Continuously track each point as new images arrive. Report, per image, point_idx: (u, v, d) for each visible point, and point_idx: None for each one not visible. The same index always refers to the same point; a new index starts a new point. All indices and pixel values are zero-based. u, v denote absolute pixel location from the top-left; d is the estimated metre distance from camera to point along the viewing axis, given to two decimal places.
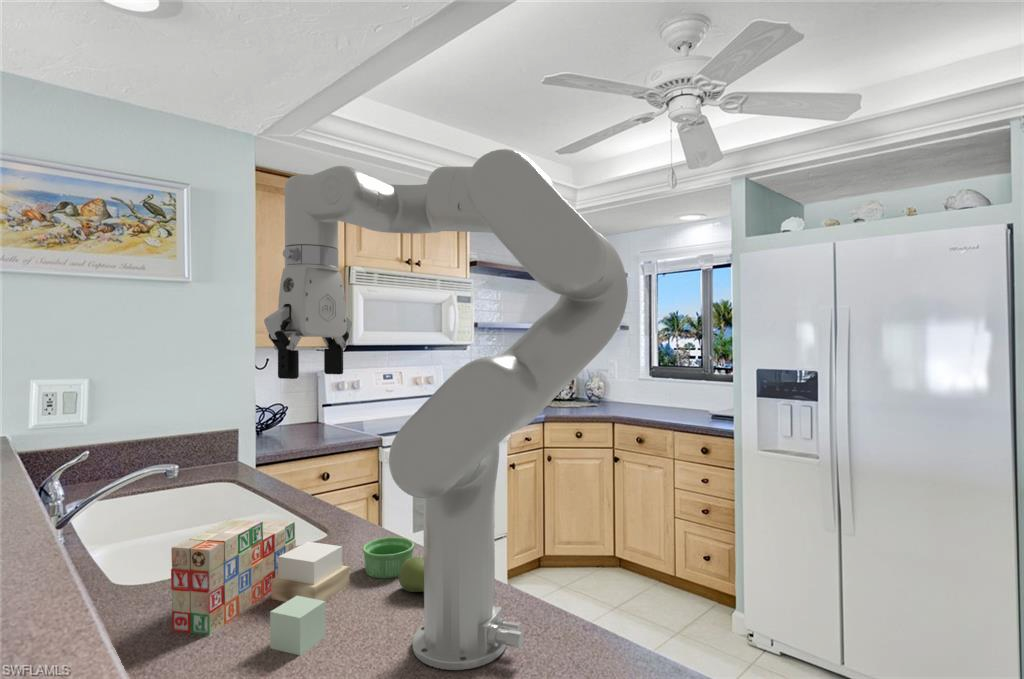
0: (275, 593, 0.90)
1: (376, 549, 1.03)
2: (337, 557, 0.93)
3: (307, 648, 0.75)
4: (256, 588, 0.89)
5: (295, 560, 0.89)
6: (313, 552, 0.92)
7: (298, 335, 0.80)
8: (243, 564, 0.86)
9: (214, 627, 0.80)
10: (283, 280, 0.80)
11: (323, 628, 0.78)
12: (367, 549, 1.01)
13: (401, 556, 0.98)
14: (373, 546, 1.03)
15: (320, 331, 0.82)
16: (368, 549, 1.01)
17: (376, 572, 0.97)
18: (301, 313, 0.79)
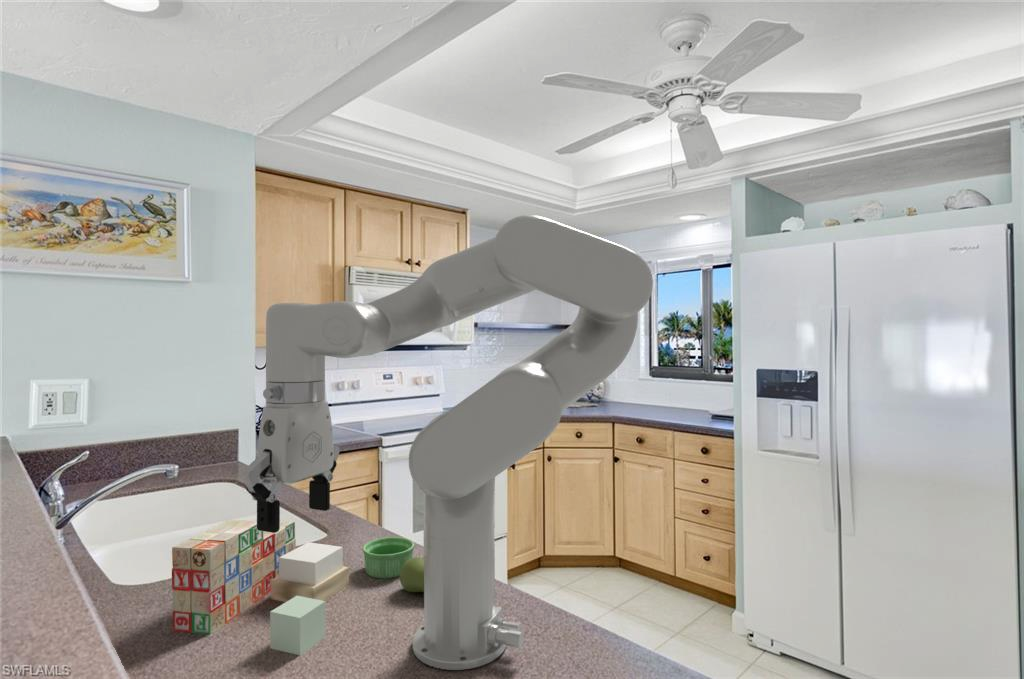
0: (275, 594, 0.90)
1: (376, 549, 1.03)
2: (338, 558, 0.93)
3: (307, 648, 0.75)
4: (256, 587, 0.89)
5: (296, 561, 0.89)
6: (314, 552, 0.92)
7: (279, 483, 0.72)
8: (244, 564, 0.86)
9: (215, 627, 0.80)
10: (264, 421, 0.73)
11: (323, 628, 0.78)
12: (367, 549, 1.01)
13: (401, 556, 0.98)
14: (374, 546, 1.03)
15: (303, 474, 0.74)
16: (368, 549, 1.01)
17: (376, 572, 0.97)
18: (283, 461, 0.71)
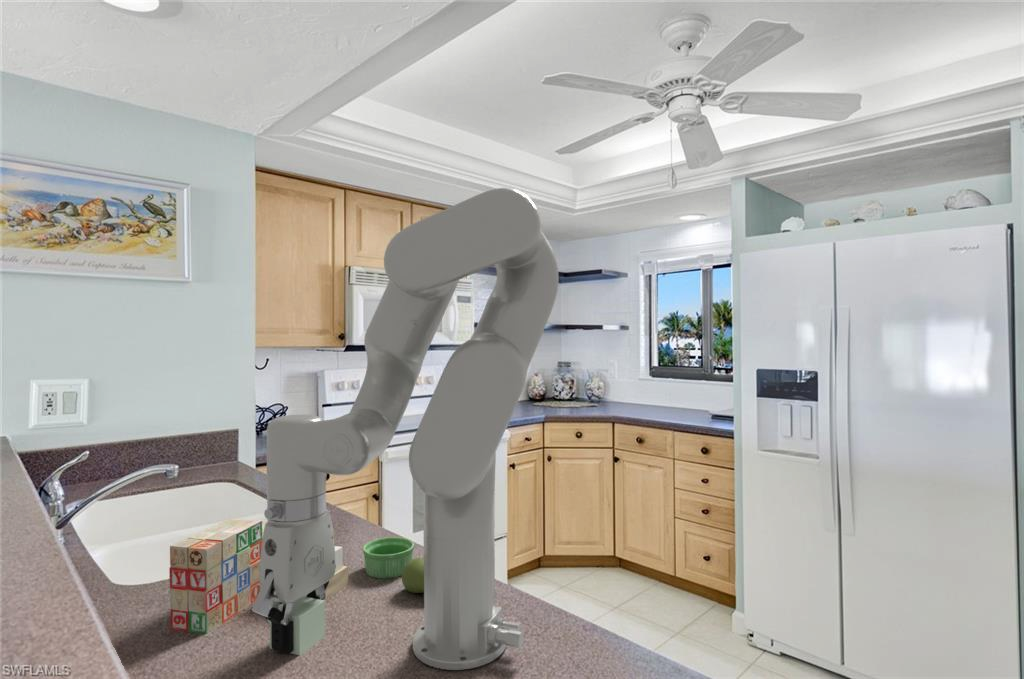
0: None
1: (376, 549, 1.03)
2: (338, 558, 0.93)
3: (306, 647, 0.75)
4: (255, 587, 0.89)
5: None
6: None
7: (289, 603, 0.74)
8: (242, 563, 0.86)
9: (211, 626, 0.80)
10: (265, 540, 0.73)
11: (322, 628, 0.78)
12: (367, 549, 1.01)
13: (401, 556, 0.98)
14: (373, 546, 1.03)
15: (306, 590, 0.74)
16: (368, 549, 1.01)
17: (376, 572, 0.97)
18: (285, 582, 0.72)
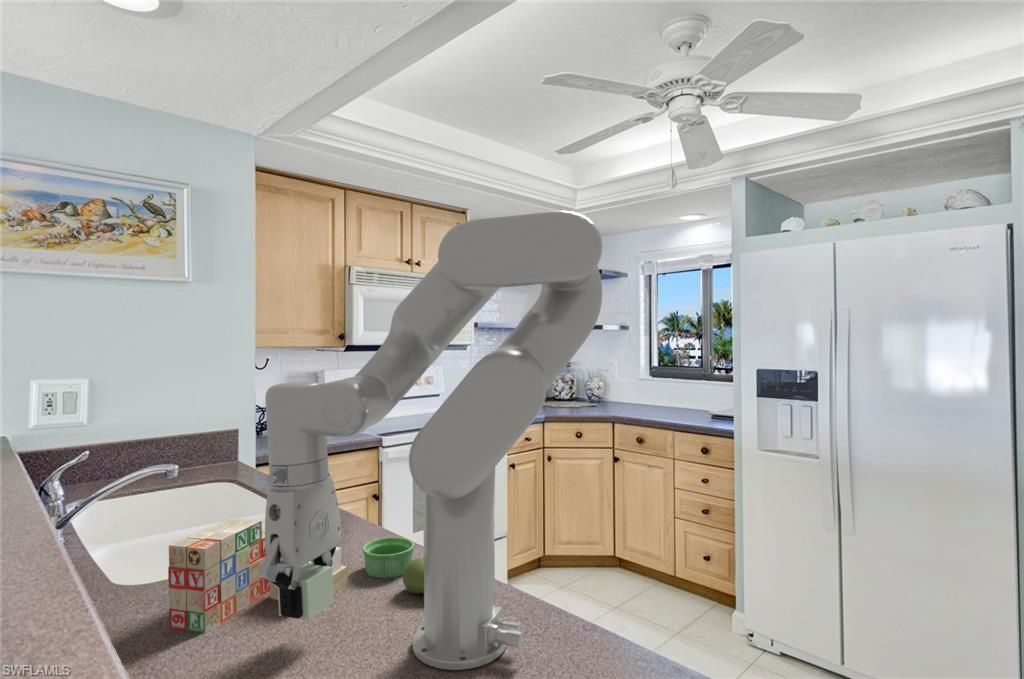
0: (273, 593, 0.90)
1: (376, 549, 1.03)
2: (336, 558, 0.93)
3: (315, 613, 0.75)
4: (254, 586, 0.90)
5: None
6: None
7: (296, 568, 0.74)
8: (241, 563, 0.86)
9: (210, 625, 0.80)
10: (269, 506, 0.73)
11: (331, 594, 0.78)
12: (367, 549, 1.01)
13: (401, 556, 0.98)
14: (373, 546, 1.03)
15: (312, 555, 0.74)
16: (368, 549, 1.01)
17: (376, 572, 0.97)
18: (290, 545, 0.71)
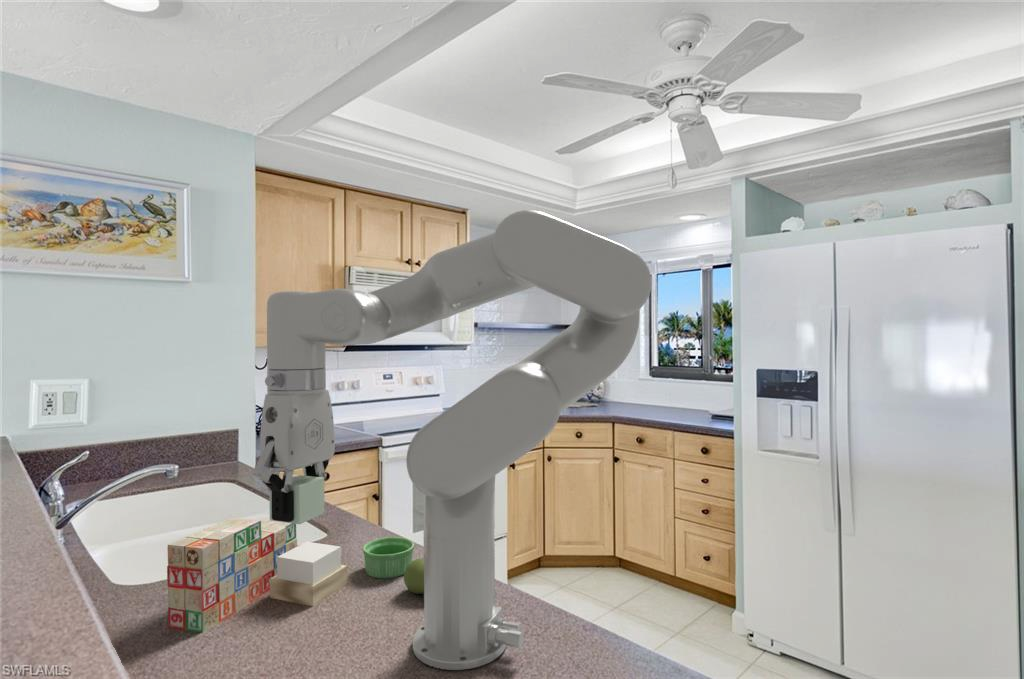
0: (274, 592, 0.90)
1: (376, 549, 1.03)
2: (336, 557, 0.93)
3: (306, 518, 0.76)
4: (254, 586, 0.90)
5: (294, 561, 0.89)
6: (312, 552, 0.92)
7: (289, 472, 0.74)
8: (240, 563, 0.87)
9: (208, 625, 0.81)
10: (266, 409, 0.74)
11: (322, 504, 0.79)
12: (367, 549, 1.01)
13: (401, 556, 0.98)
14: (374, 546, 1.03)
15: (306, 461, 0.75)
16: (368, 549, 1.01)
17: (376, 572, 0.97)
18: (285, 447, 0.72)
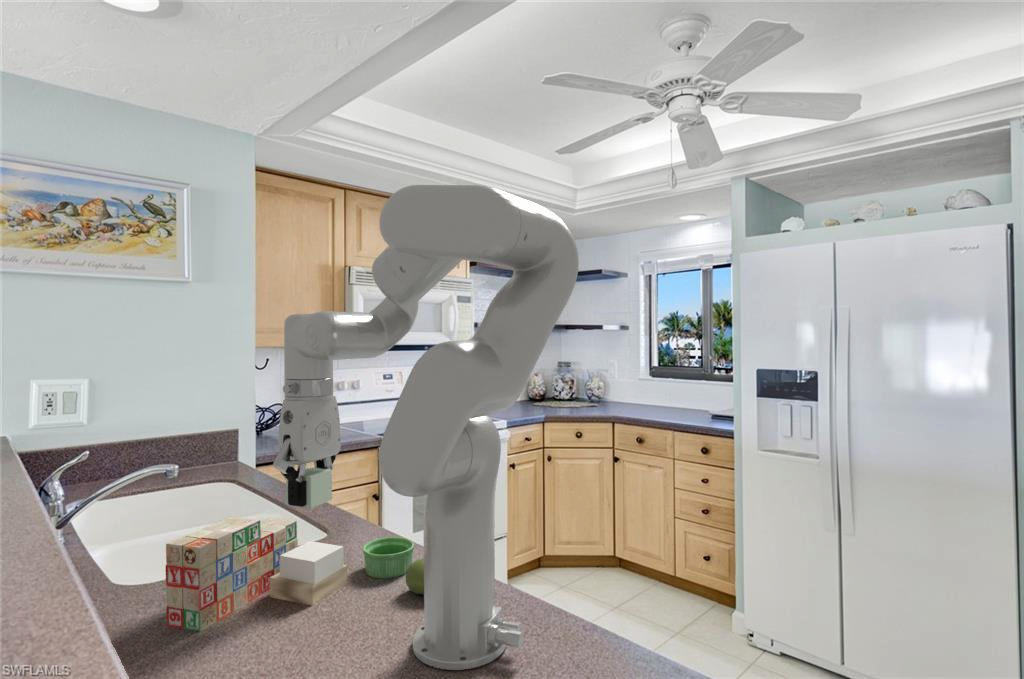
0: (273, 591, 0.90)
1: (376, 549, 1.03)
2: (338, 557, 0.93)
3: (316, 504, 0.90)
4: (253, 586, 0.90)
5: (296, 560, 0.89)
6: (314, 551, 0.92)
7: (303, 465, 0.89)
8: (238, 562, 0.87)
9: (205, 624, 0.81)
10: (283, 412, 0.88)
11: (329, 491, 0.93)
12: (367, 549, 1.01)
13: (401, 556, 0.98)
14: (373, 546, 1.03)
15: (316, 456, 0.90)
16: (368, 549, 1.01)
17: (376, 572, 0.97)
18: (299, 444, 0.87)
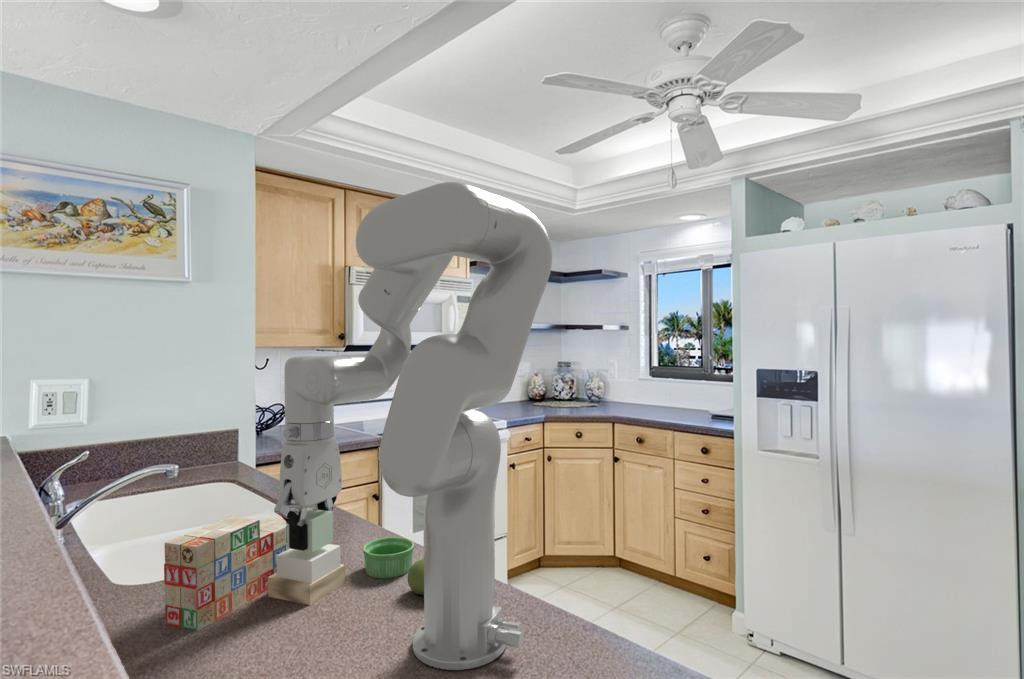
0: (271, 591, 0.90)
1: (376, 549, 1.03)
2: (335, 556, 0.94)
3: (318, 547, 0.90)
4: (252, 585, 0.90)
5: (293, 559, 0.90)
6: None
7: (304, 509, 0.89)
8: (237, 562, 0.87)
9: (203, 623, 0.81)
10: (284, 456, 0.88)
11: (330, 533, 0.93)
12: (367, 549, 1.01)
13: (401, 556, 0.98)
14: (374, 546, 1.03)
15: (317, 499, 0.90)
16: (368, 549, 1.01)
17: (376, 572, 0.97)
18: (300, 489, 0.87)
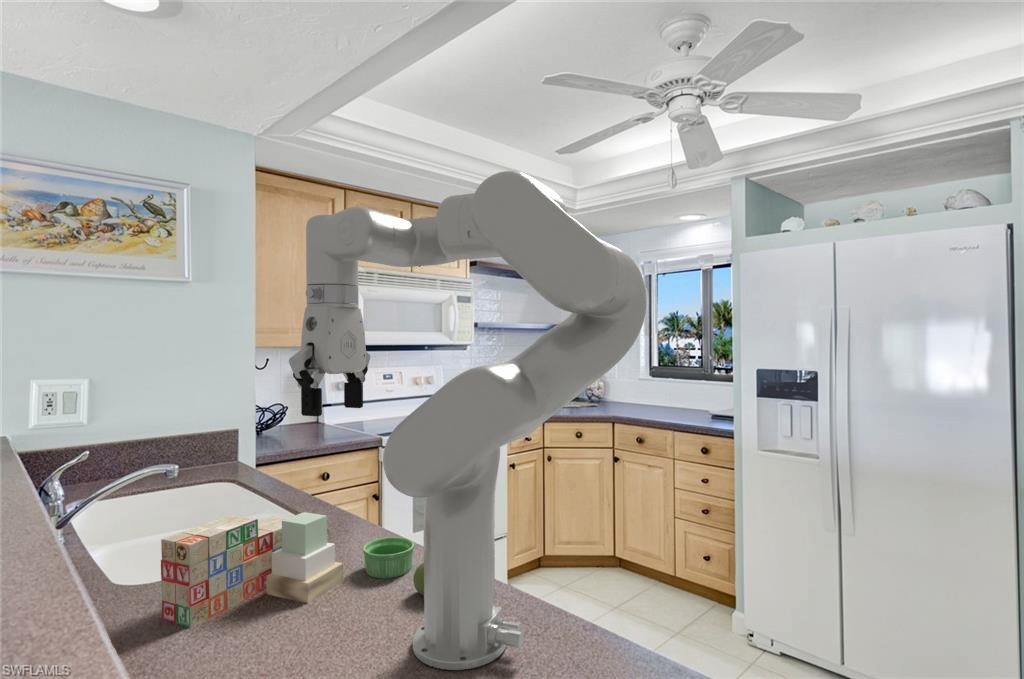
0: (270, 589, 0.91)
1: (376, 549, 1.03)
2: (330, 554, 0.95)
3: (311, 550, 0.92)
4: (249, 584, 0.91)
5: (287, 557, 0.91)
6: None
7: (321, 373, 0.81)
8: (233, 560, 0.88)
9: (196, 620, 0.82)
10: (306, 319, 0.82)
11: (324, 537, 0.95)
12: (367, 549, 1.01)
13: (401, 556, 0.98)
14: (374, 546, 1.03)
15: (342, 368, 0.83)
16: (368, 549, 1.01)
17: (376, 572, 0.97)
18: (324, 352, 0.80)
